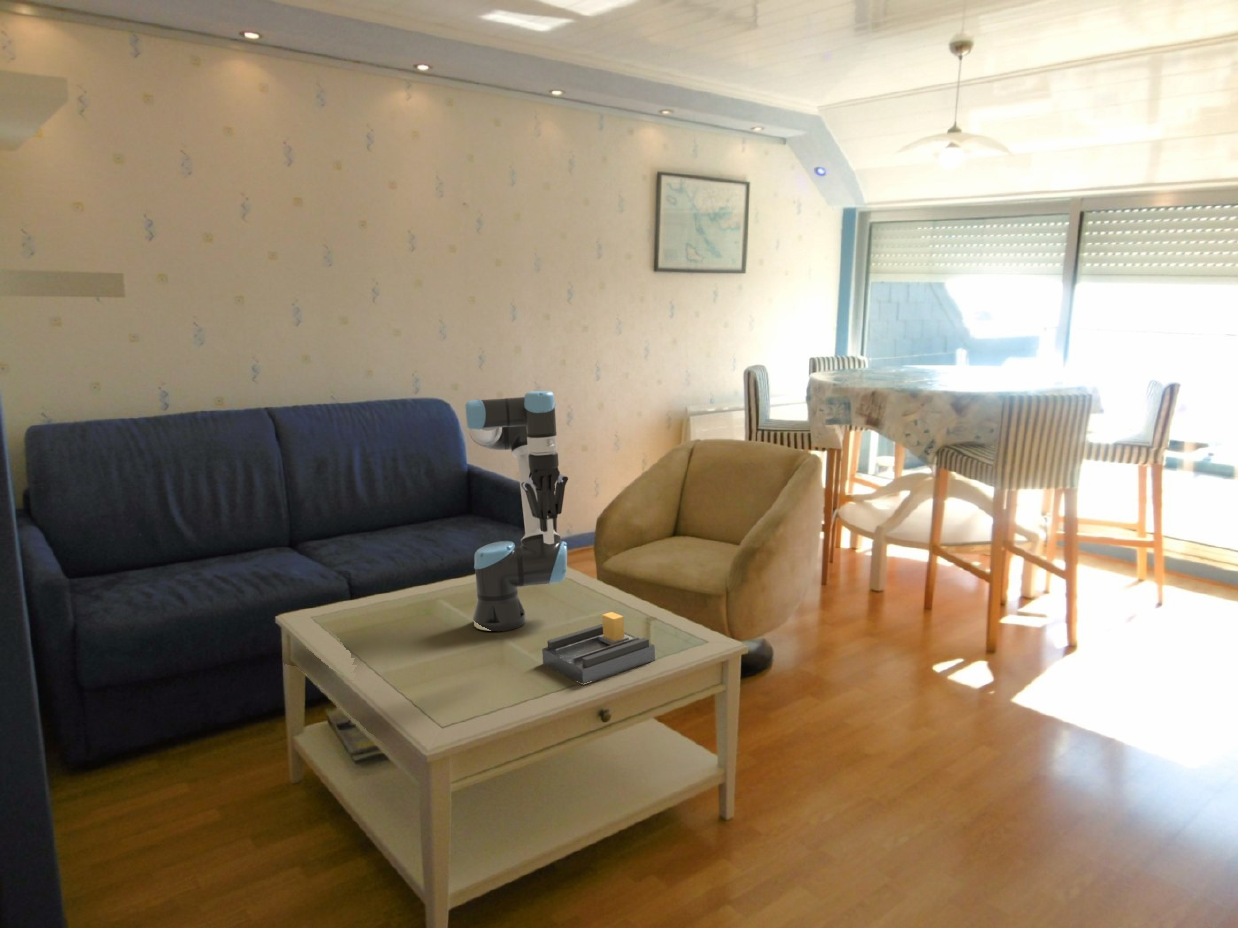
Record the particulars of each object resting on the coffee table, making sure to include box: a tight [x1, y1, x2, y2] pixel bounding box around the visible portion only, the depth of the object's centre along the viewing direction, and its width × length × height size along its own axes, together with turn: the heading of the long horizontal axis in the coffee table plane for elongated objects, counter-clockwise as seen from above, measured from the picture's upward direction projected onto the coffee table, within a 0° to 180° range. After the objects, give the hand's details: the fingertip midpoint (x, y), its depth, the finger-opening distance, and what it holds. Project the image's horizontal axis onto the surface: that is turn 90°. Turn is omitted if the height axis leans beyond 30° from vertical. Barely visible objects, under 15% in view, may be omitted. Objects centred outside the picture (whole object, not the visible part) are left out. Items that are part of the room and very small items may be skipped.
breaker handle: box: [599, 611, 629, 645], centre depth 224 cm, size 6×5×7 cm
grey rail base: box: [541, 631, 656, 684], centre depth 221 cm, size 18×22×5 cm
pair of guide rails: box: [546, 623, 650, 667], centre depth 221 cm, size 17×19×2 cm
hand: (549, 542), depth 226 cm, fingers closed
